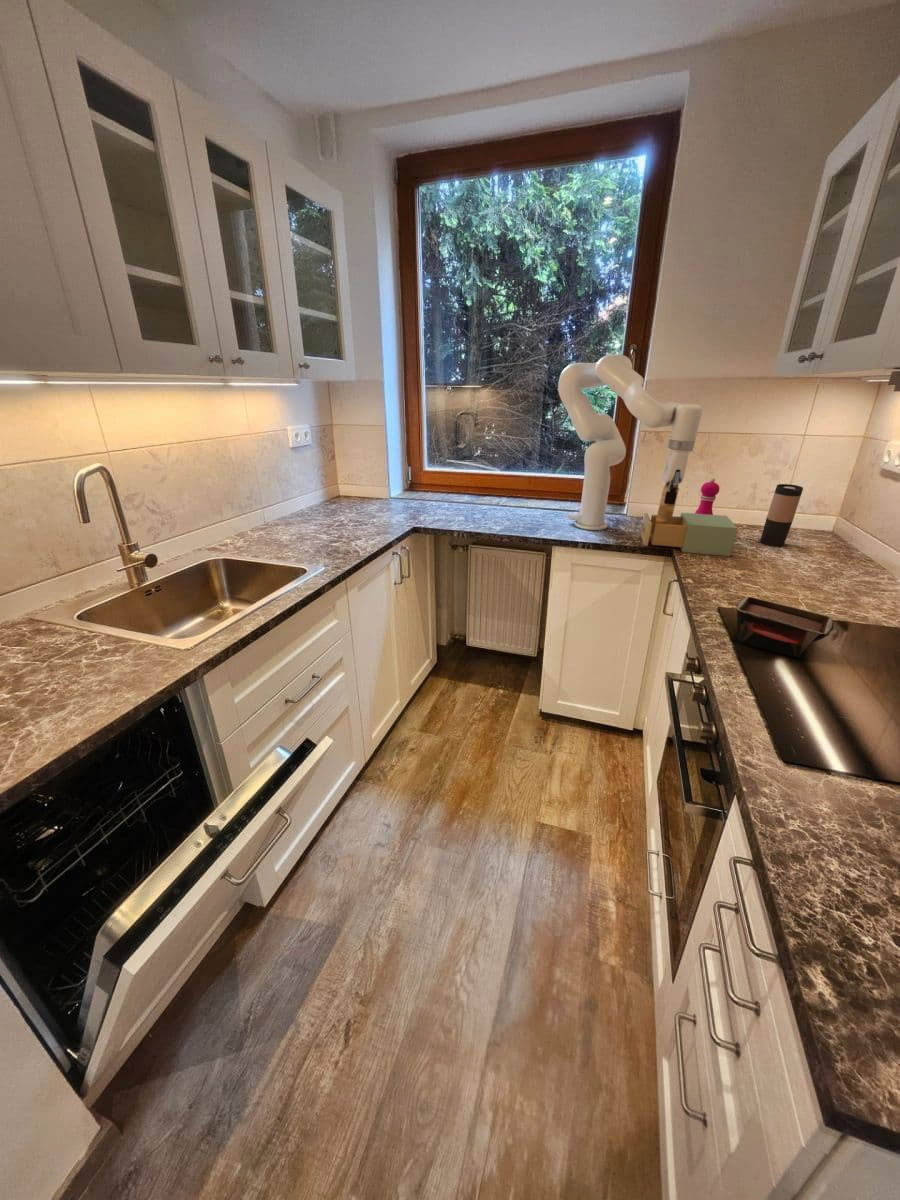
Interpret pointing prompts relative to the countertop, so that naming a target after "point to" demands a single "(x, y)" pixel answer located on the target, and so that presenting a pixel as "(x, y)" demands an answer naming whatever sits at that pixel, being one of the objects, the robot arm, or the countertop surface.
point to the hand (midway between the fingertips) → (668, 501)
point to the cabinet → (708, 534)
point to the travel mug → (781, 514)
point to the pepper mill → (708, 497)
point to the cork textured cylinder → (665, 509)
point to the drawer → (662, 531)
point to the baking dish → (779, 626)
